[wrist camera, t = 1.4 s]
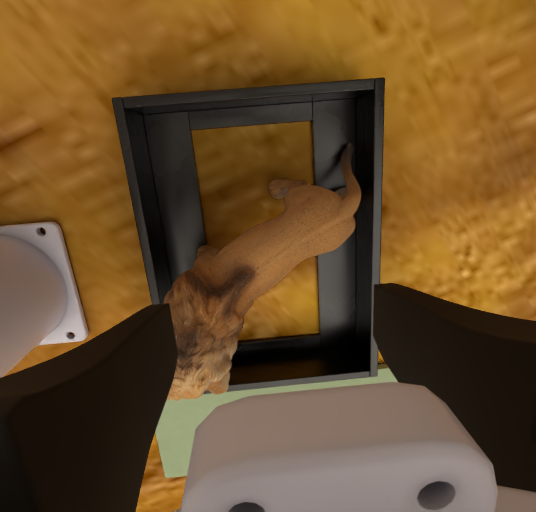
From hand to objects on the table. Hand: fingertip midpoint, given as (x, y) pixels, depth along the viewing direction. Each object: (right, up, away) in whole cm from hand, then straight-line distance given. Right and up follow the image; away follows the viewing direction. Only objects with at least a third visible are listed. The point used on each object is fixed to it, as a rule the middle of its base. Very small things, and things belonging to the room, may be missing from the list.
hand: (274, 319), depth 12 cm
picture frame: (-1, +3, +10) cm, 10 cm away
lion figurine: (-1, +3, +10) cm, 10 cm away
